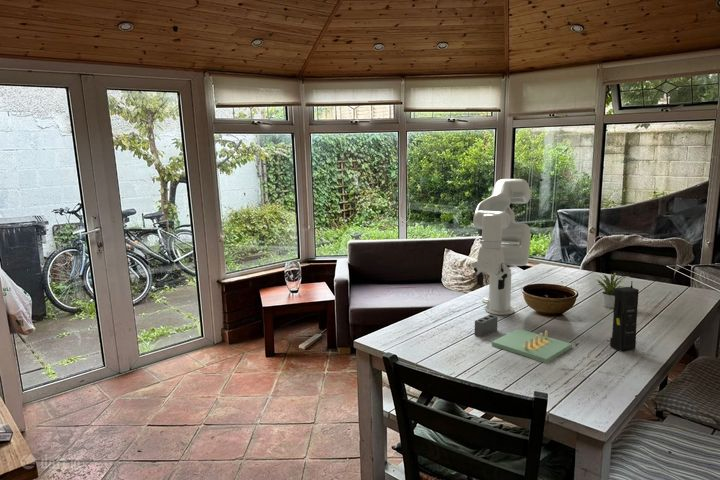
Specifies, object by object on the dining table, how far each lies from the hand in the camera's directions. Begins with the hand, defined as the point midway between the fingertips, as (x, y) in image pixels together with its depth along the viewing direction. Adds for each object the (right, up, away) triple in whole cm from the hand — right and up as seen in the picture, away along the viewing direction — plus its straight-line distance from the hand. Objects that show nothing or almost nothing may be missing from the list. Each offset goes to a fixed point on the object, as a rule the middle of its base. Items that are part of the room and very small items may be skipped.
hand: (490, 286), depth 191 cm
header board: (+13, -22, -10) cm, 27 cm away
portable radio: (+45, -22, -14) cm, 52 cm away
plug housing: (-1, -19, +4) cm, 20 cm away
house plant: (+66, -12, +33) cm, 74 cm away
